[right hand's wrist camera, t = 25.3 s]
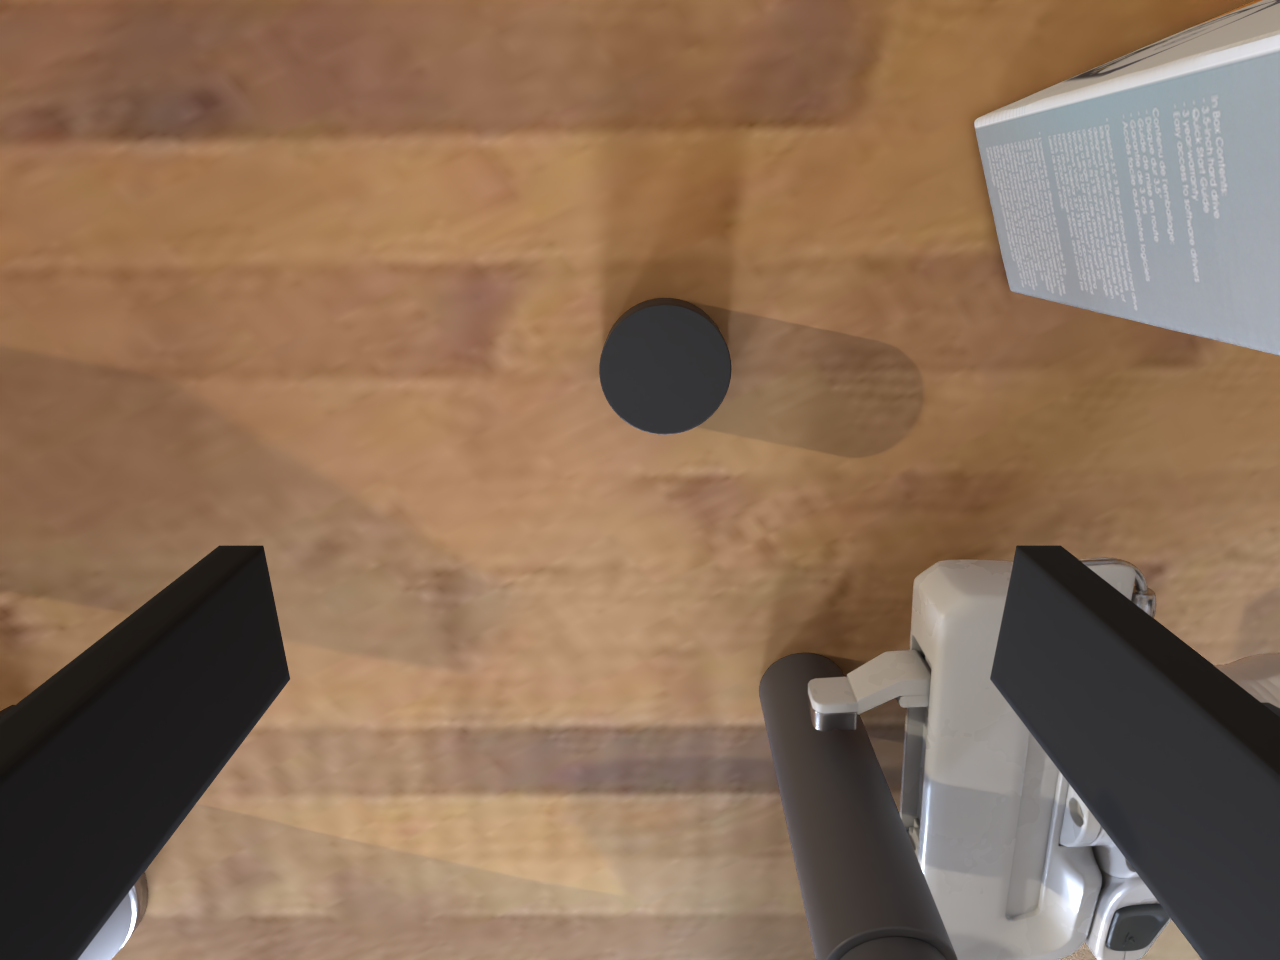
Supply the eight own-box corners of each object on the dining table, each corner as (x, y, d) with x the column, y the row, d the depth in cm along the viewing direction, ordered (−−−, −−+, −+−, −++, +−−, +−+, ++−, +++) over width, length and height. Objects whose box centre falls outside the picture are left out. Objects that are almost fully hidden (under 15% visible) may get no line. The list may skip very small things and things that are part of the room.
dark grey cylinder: (816, 735, 40) (929, 1106, 23) (743, 703, 39) (806, 1062, 23) (862, 673, 38) (1018, 1023, 22) (787, 639, 38) (889, 973, 21)
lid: (662, 270, 31) (662, 275, 29) (751, 357, 32) (758, 368, 30) (577, 363, 33) (572, 374, 30) (666, 443, 34) (667, 459, 32)
